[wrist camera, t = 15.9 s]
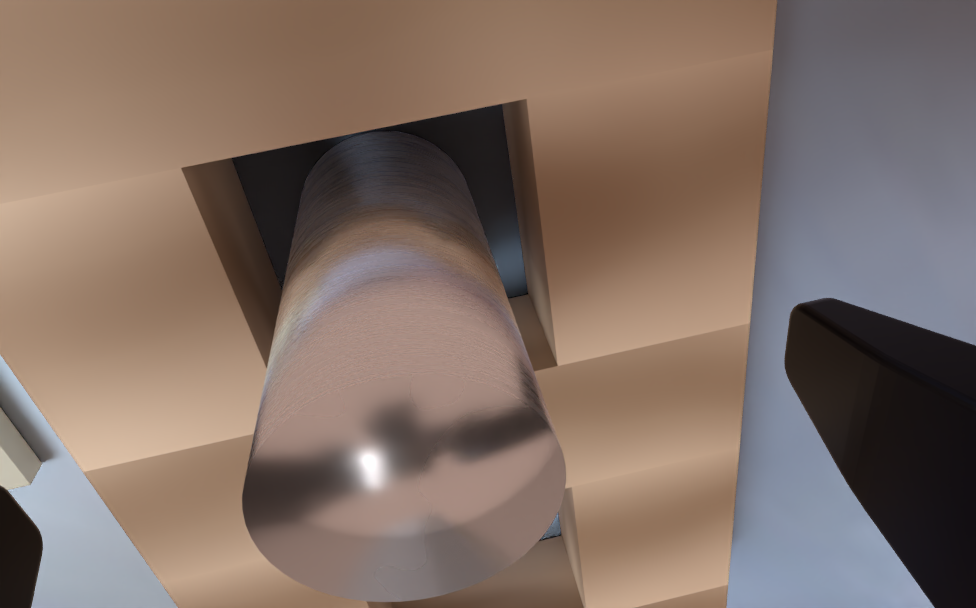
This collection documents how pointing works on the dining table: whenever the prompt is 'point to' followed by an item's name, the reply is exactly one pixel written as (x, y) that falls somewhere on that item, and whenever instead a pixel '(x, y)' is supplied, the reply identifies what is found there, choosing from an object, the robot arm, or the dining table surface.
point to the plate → (15, 457)
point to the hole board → (256, 291)
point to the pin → (397, 390)
